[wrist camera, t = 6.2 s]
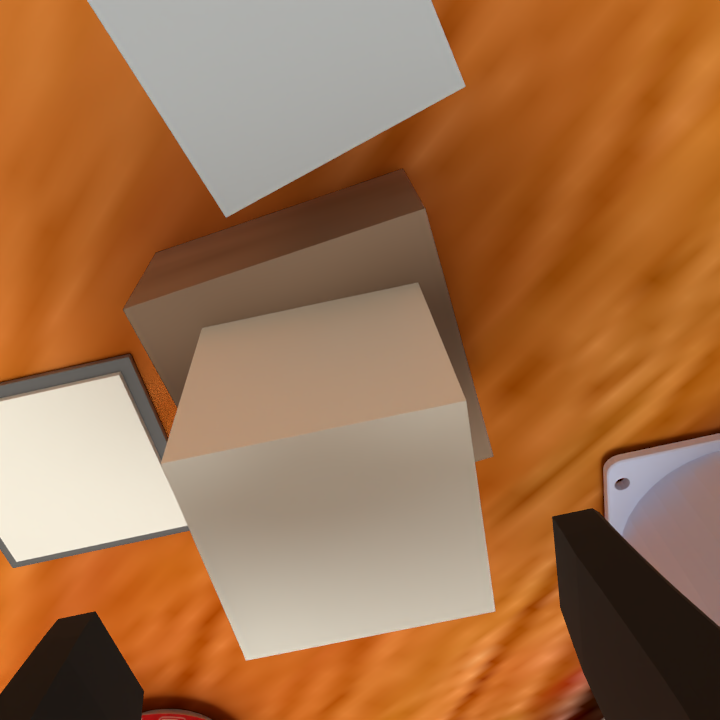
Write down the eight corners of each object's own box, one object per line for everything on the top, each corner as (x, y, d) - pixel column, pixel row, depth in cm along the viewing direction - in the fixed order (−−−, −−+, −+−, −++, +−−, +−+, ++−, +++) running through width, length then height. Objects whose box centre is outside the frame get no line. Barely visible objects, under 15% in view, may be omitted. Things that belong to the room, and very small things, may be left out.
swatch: (205, 523, 23) (203, 531, 22) (15, 563, 23) (10, 572, 22) (130, 353, 19) (127, 360, 19) (-92, 403, 20) (-99, 410, 19)
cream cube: (446, 455, 17) (495, 611, 13) (260, 494, 17) (246, 660, 13) (418, 282, 15) (466, 400, 10) (201, 327, 15) (161, 463, 11)
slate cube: (422, 61, 16) (465, 86, 12) (246, 160, 17) (226, 217, 13) (324, -171, 14) (332, -247, 9) (126, -43, 15) (49, -59, 10)
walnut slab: (462, 379, 21) (493, 456, 17) (254, 443, 22) (245, 530, 18) (401, 166, 18) (424, 208, 14) (158, 248, 18) (122, 309, 15)
